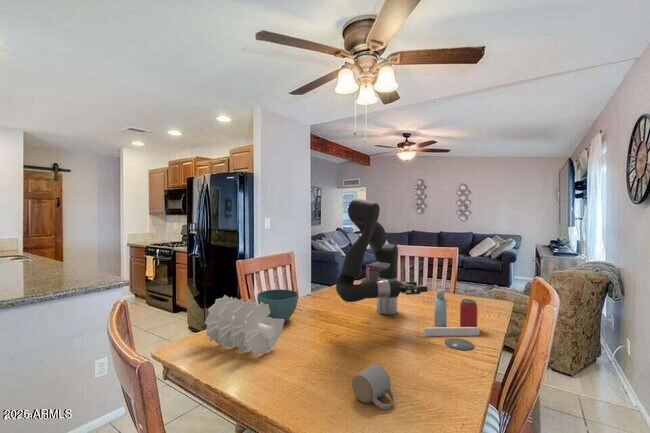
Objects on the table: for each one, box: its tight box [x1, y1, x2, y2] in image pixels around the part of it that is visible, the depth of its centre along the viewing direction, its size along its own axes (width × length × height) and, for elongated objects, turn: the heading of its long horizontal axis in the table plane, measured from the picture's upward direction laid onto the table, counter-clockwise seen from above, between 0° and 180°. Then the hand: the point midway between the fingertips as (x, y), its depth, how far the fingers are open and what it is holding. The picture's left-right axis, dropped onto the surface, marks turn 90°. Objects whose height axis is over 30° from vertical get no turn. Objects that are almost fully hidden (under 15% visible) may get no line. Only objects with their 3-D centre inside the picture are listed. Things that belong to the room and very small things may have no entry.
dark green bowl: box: [256, 288, 299, 324], centre depth 145 cm, size 18×18×12 cm
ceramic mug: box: [351, 363, 395, 410], centre depth 85 cm, size 11×8×8 cm
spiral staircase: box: [204, 294, 285, 357], centre depth 117 cm, size 18×18×25 cm
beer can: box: [459, 298, 478, 327], centre depth 135 cm, size 7×7×12 cm
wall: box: [423, 326, 480, 337], centre depth 129 cm, size 22×1×3 cm, turn 92°
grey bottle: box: [433, 288, 447, 327], centre depth 138 cm, size 5×5×16 cm
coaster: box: [444, 337, 475, 351], centre depth 120 cm, size 10×10×1 cm
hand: (421, 286), depth 135 cm, fingers open, 8 cm apart
